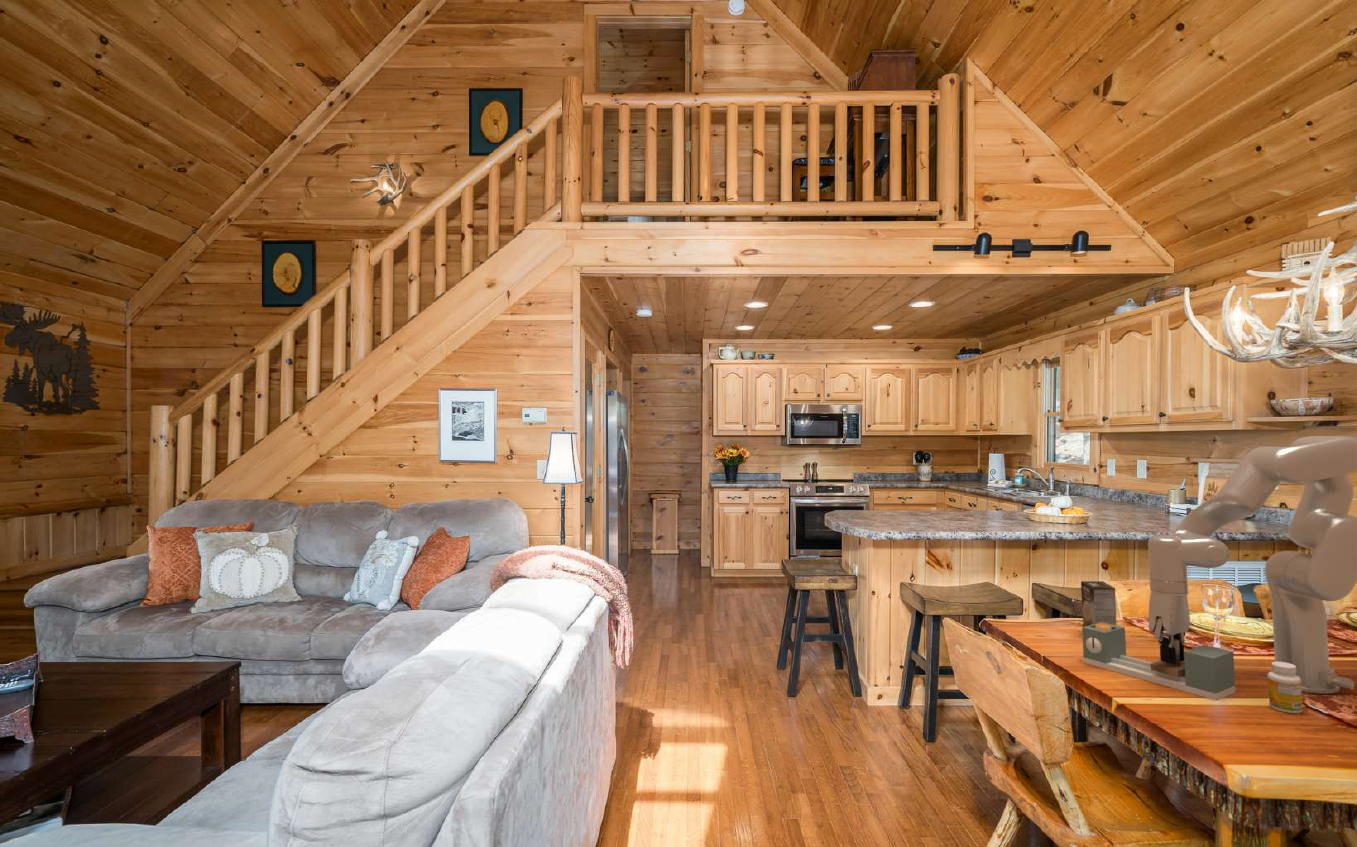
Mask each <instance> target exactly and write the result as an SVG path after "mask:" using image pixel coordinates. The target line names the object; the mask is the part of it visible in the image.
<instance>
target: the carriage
mask: <svg viewBox="0 0 1357 847" xmlns="http://www.w3.org/2000/svg"><path fill="white" fill-rule="evenodd" d="M1166 638H1167V639H1168V640H1169V637H1166ZM1174 648H1176V664H1170V663H1166V662H1162V661H1161V659H1160V660H1157V661H1155V662H1151V670H1153V671H1157V672H1160V673H1164V674H1168V675H1172V676H1175V677H1180V676H1183V675H1185V663H1184V661H1180V647H1179V640H1177V639H1174Z"/></svg>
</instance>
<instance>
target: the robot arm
mask: <svg viewBox="0 0 1357 847" xmlns="http://www.w3.org/2000/svg"><path fill="white" fill-rule="evenodd" d="M1354 473H1357V438H1356V437H1353V436H1345V435H1344V436H1343V435H1335V436H1334V435H1332V436H1331V435H1309V436H1303V437H1300V438H1298V439H1295V440H1294V441H1293V442H1292V443H1291V444H1290V446H1259V447H1255V448H1254V449H1252V450H1250V451H1248V453H1247V454H1246V455H1245V456H1244V458H1243V459H1242V460H1241V461H1240V463H1239V464H1238V465H1237V467H1236V468H1235V470H1234V471H1233V472H1232V473H1231V475H1230V476H1229V478H1228V479H1227V480H1226V481H1225V483H1224V484H1223V485H1222V487H1221V488H1220V489H1219V491H1218V492H1216V494H1214V495H1213V496H1211V497H1210V498H1208V499H1207V500H1205V501H1204V502H1203V503H1201V504H1200V505H1198V506H1197V507H1196V508H1194V509H1193V510H1191V511H1190V512H1189V513H1188V514H1187V515H1186V516H1185V517H1184V518H1183V519H1182V521H1180V522H1179V524H1178V526H1177V527H1176V528H1175V529H1174V530H1173V533H1172V534H1171V535H1168V534H1167V535H1166V534H1165V535H1163V534H1162V535H1152V536H1150V537H1149V539H1148V540H1147V548H1148V549H1147V550H1148V569H1149V571H1148V572H1149V586H1150V587H1149V588H1150V595H1149V601H1148V602H1149V603H1148V629H1149V632H1152V633H1154V635H1153V638H1154V639H1155V640H1157V641H1158V645H1159V652H1160V653H1159V655H1160V660H1161V661H1162V662H1166V663H1170V664H1176V648H1174V639H1177V640H1179V647H1180V661H1183V662H1184V651H1185V643H1186V641H1185V636H1186V634H1187V632H1188V630H1189V629H1190V627H1191V625H1190V623H1191V620H1190V618H1191V616H1190V608H1189V600H1188V595H1189V584H1188V567H1197V568H1203V569H1204V568H1205V569H1216V568H1219V567H1222V566H1224V565H1225V564H1226V563H1227V562H1228V561H1229V558H1230V550H1229V548H1228V546H1227V545H1226V544H1225V543H1224V542H1223V541H1221V540H1219V539H1217V538H1214V537H1212V536H1213V534H1215V532H1216V531H1218V530H1219V529H1220V528H1222V527H1224V526H1227V525H1228V524H1230V523H1233V522H1235V521H1239V520H1243V519H1245V518H1248V517H1251V516H1254V515H1255V514H1257V513H1258V512H1259V511H1260V510H1261V508H1262V507H1263V506H1264V504H1265V503H1266V502H1267V500H1268V499H1269V497H1271V495H1272V494H1273V492H1274V491H1275V490H1276V489H1277V487H1278V486H1279V485H1280V484H1281V483H1285V484H1301V483H1304V488H1303V492H1302V495H1301V497H1300V501H1299V502H1298V505H1297V507H1296V510H1295V512H1294V515H1293V517H1292V519H1291V521H1290V523H1289V528H1288V537H1289V539H1290V540H1291V541H1292V542H1293V543H1294V544H1295V545H1297V546H1300V547H1302V548H1304V549H1308V550H1312V551H1314V552H1313V554H1309V553H1304V552H1300V551H1293V550H1284V551H1279V552H1278V551H1277V552H1276V553H1274V554H1272V555H1271V556H1270V557H1269V558H1268V559H1267V561H1266V563H1265V565H1264V574H1265V579H1266V583H1267V586H1268V590H1269V595H1270V600H1271V601H1270V602H1271V612H1272V613H1271V614H1272V616H1271V617H1272V631H1273V646H1274V647H1273V648H1274V662H1285V663H1290V664H1293V665H1295V666H1296V673H1295V675H1297V676H1298V677H1299V678H1300V679H1301V690H1302V693H1303V692H1304V693H1310V694H1321V695H1322V694H1324V695H1325V694H1327V695H1328V694H1336V693H1338V692H1340V687H1341V688H1343V689H1348V690H1350V691H1351V690H1352V691H1353V690H1354V689H1355V682H1354V680H1353V681H1352V679H1351V678H1348V677H1345V676H1344V677H1343V676H1338V674H1336V672H1335V668H1330V659H1329V656H1330V655H1329V643H1328V642H1329V641H1328V625H1327V623H1328V620H1327V611H1326V606H1325V604H1324V601H1325V602H1336V601H1339V600H1343V599H1345V598H1346V597H1348V595H1350V594H1351V592H1352V591H1353V590H1354V587H1355V586H1356V584H1357V517H1356V516H1354V515H1349V512H1350V509H1351V505H1352V502H1353V499H1354V488H1353V483H1352V480H1351V479H1350V477H1349V475H1351V474H1354ZM1167 638H1169V640H1168V639H1167ZM1272 671H1273V670H1272ZM1272 671H1269V672H1267V674H1266V676H1267V679H1268V674H1269V673H1270V672H1272Z"/></svg>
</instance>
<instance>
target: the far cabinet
mask: <svg viewBox="0 0 1357 847" xmlns="http://www.w3.org/2000/svg"><path fill="white" fill-rule="evenodd" d="M1097 624H1108V623H1103V622H1100V623H1097ZM1108 625H1111V630H1110V631H1105V630H1101V629H1096V627H1095V624H1093V625H1089V626H1086V627H1083V626H1082V627H1081V632H1082V634H1081V635H1082V651H1083V652H1082V653H1083V659H1084V658H1088V659H1092V660H1095V661H1099V662H1102V663H1106V664H1107V663H1110V662H1111V658H1116V659H1120V655H1124V656H1127V647H1126V646H1127V643H1126V628H1125V626H1121V625H1118V624H1116V625H1112V624H1108Z"/></svg>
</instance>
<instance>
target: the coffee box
mask: <svg viewBox="0 0 1357 847" xmlns="http://www.w3.org/2000/svg"><path fill="white" fill-rule="evenodd" d="M1080 586H1081V587H1080V588H1081V591H1080V592H1081V609H1082V627H1086V626H1089V625H1093V624H1097V623H1100V622H1103V623H1108V624H1112V625H1117V610H1116V609H1117V605H1116V602H1117V601H1116V588H1115V587H1113V586H1112V585H1110V584H1108V583H1106V582H1105V581H1098V580H1097V581H1093V580H1092V581H1080Z"/></svg>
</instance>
